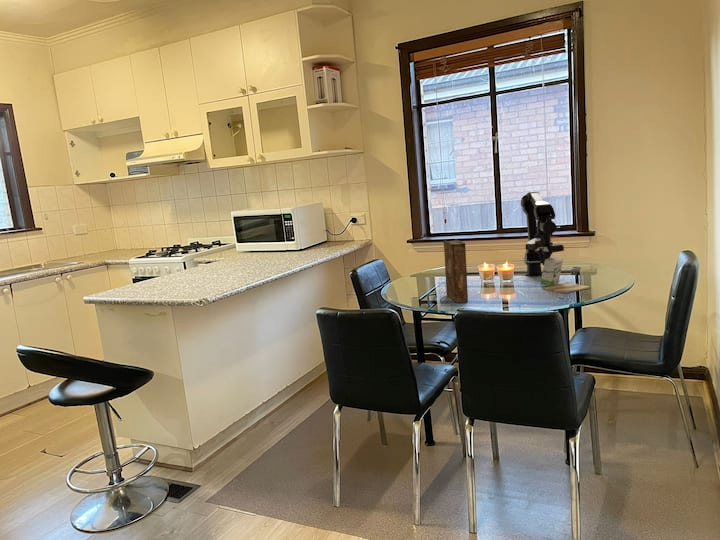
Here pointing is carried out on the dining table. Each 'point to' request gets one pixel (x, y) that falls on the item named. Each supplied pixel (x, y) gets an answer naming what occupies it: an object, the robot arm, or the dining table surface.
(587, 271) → the dining table surface
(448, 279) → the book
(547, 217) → the robot arm
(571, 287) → the cork trivet
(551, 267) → the ink box
